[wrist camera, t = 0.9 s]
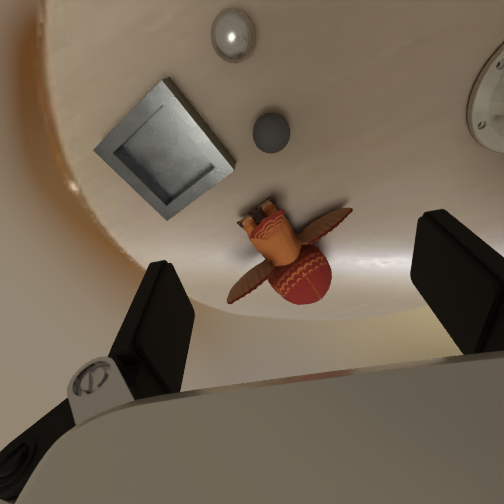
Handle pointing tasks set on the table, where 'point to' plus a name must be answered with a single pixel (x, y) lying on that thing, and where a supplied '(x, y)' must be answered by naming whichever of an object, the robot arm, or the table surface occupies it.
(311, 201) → the table surface
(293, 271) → the figurine
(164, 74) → the table surface
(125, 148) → the square metal tray
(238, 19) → the steel ball
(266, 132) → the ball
